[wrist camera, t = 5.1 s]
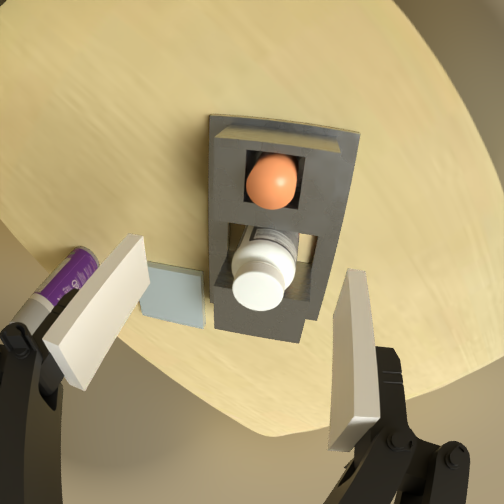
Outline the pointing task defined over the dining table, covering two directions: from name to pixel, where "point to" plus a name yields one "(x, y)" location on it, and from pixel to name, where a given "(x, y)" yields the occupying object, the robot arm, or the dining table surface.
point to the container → (57, 287)
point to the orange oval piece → (273, 180)
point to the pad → (174, 295)
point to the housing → (276, 213)
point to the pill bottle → (263, 266)
